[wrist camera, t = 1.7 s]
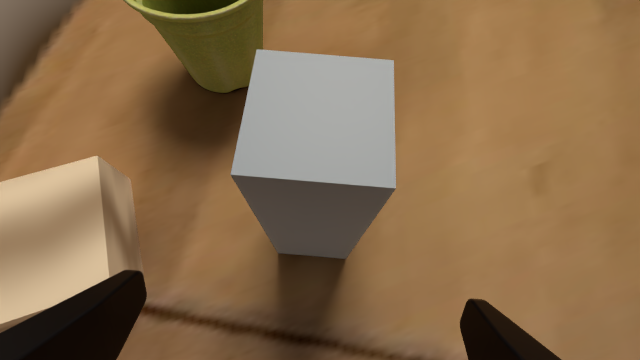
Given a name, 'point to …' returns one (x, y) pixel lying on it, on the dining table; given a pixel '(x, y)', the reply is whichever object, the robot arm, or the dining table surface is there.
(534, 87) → the dining table surface
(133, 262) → the birch base
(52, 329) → the robot arm
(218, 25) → the plant pot
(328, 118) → the slate post
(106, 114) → the dining table surface
